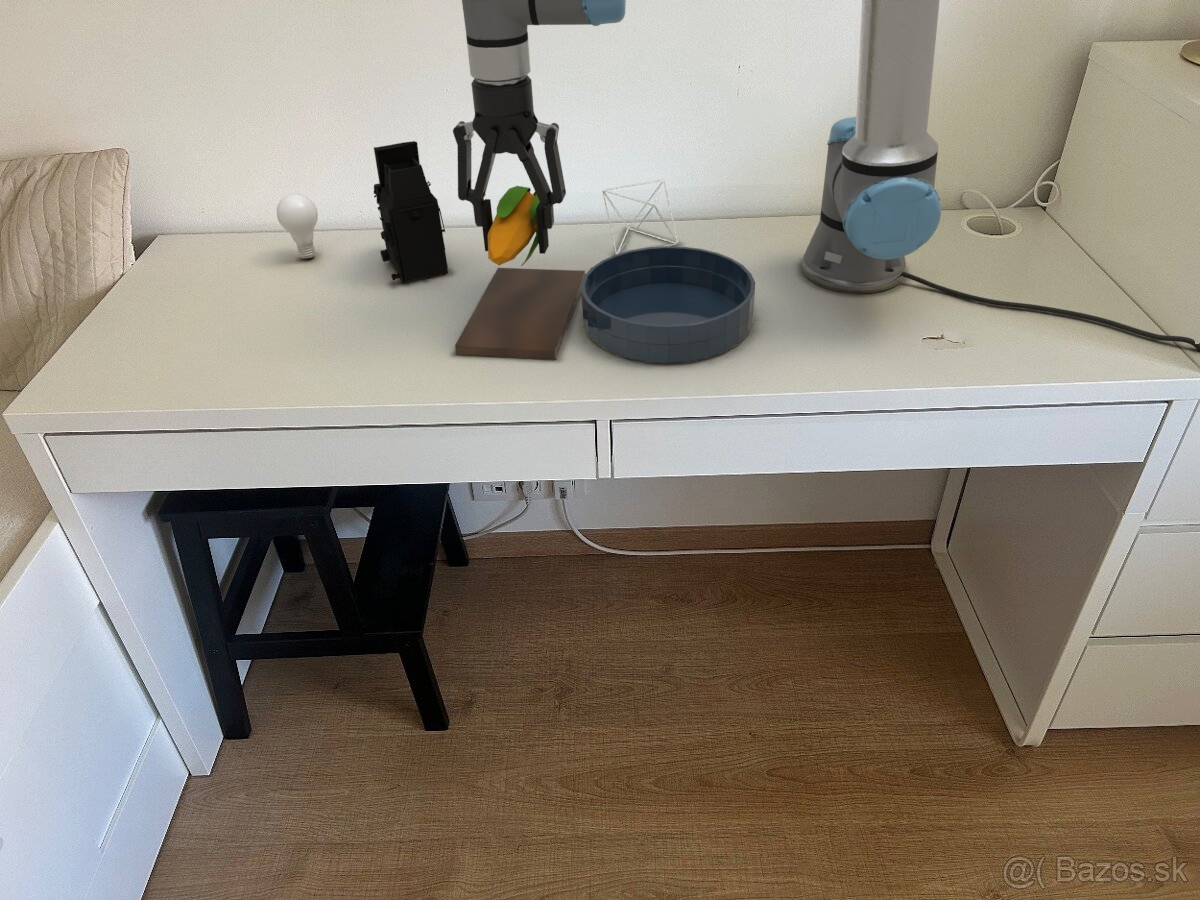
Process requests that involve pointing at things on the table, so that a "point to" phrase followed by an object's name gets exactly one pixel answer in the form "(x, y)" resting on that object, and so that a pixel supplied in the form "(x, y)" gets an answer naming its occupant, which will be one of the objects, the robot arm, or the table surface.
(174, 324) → the table surface
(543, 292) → the walnut board
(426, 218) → the camera
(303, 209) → the lightbulb
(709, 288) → the bowl
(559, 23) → the robot arm
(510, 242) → the corn
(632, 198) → the geometric polyhedron
